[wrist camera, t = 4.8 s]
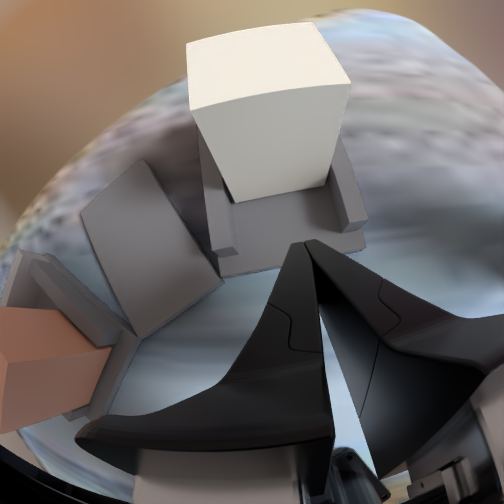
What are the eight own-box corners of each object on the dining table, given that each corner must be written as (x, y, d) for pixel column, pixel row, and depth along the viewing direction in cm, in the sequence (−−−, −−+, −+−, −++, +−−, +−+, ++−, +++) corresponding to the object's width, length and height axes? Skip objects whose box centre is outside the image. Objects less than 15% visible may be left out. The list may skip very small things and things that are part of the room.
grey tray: (409, 209, 15) (438, 184, 11) (74, 435, 15) (43, 449, 11) (282, 80, 18) (279, 42, 14) (13, 298, 18) (-19, 294, 14)
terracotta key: (112, 347, 14) (8, 362, 7) (88, 403, 14) (0, 434, 6) (72, 310, 15) (-25, 303, 7) (53, 366, 15) (-34, 377, 7)
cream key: (324, 185, 15) (351, 83, 7) (235, 203, 15) (190, 110, 7) (305, 128, 16) (311, 22, 8) (225, 144, 16) (186, 43, 8)
